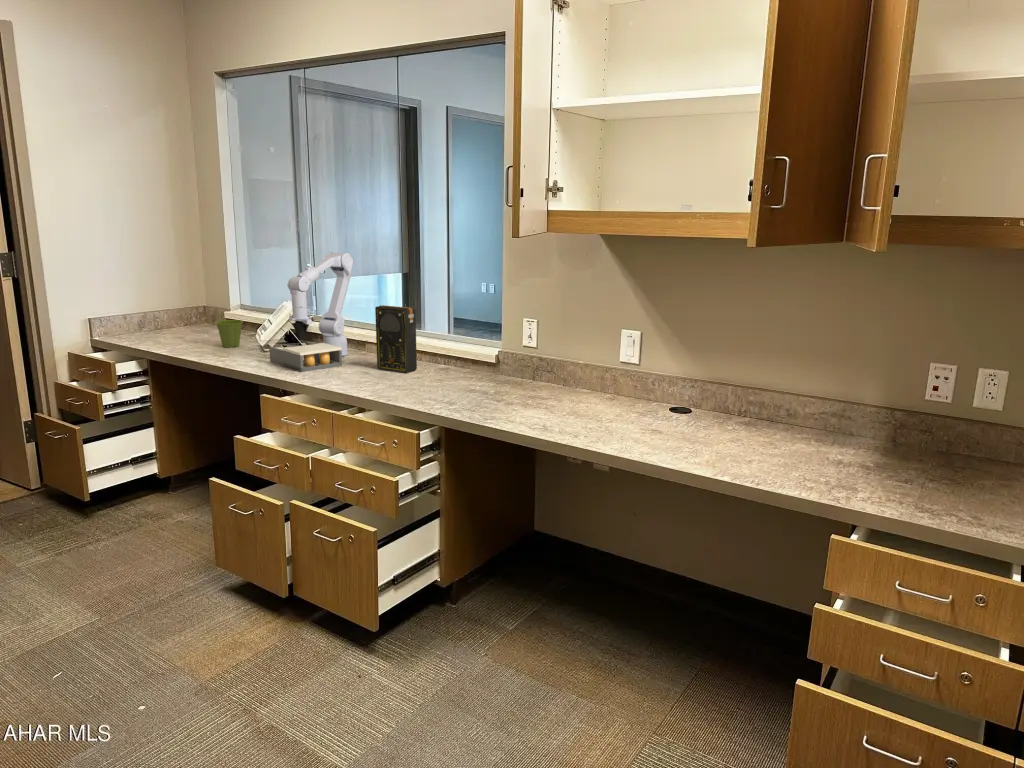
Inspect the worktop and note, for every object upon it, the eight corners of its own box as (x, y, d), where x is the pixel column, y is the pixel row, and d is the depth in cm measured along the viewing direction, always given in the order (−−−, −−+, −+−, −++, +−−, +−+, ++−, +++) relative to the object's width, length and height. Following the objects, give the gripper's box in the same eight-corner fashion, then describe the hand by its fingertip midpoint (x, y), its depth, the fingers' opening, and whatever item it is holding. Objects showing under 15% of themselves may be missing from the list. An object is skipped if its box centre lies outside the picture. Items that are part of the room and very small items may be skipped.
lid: (323, 347, 301) (323, 342, 301) (341, 352, 291) (341, 347, 291) (283, 352, 289) (282, 348, 288) (300, 358, 279) (300, 352, 279)
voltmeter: (374, 369, 286) (372, 306, 280) (388, 365, 293) (386, 304, 288) (406, 374, 278) (404, 309, 273) (419, 370, 286) (418, 306, 280)
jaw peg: (326, 365, 294) (326, 350, 292) (332, 366, 291) (331, 351, 290) (317, 366, 291) (317, 351, 290) (323, 367, 288) (322, 353, 287)
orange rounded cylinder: (315, 366, 289) (313, 352, 288) (316, 368, 285) (314, 353, 284) (304, 368, 288) (303, 353, 286) (305, 369, 284) (303, 354, 283)
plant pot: (219, 349, 324) (217, 324, 322) (215, 345, 334) (213, 321, 332) (247, 347, 330) (245, 322, 327) (242, 343, 340) (240, 319, 337)
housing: (310, 356, 311) (309, 341, 309) (342, 365, 292) (341, 350, 291) (270, 361, 299) (269, 346, 297) (301, 372, 280) (300, 356, 279)
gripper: (281, 305, 295) (283, 338, 298) (299, 309, 285) (301, 343, 288) (297, 304, 300) (299, 336, 303) (315, 307, 290) (317, 341, 293)
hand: (301, 340), depth 296 cm, fingers closed
